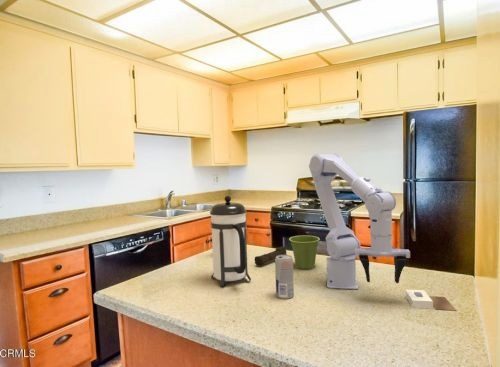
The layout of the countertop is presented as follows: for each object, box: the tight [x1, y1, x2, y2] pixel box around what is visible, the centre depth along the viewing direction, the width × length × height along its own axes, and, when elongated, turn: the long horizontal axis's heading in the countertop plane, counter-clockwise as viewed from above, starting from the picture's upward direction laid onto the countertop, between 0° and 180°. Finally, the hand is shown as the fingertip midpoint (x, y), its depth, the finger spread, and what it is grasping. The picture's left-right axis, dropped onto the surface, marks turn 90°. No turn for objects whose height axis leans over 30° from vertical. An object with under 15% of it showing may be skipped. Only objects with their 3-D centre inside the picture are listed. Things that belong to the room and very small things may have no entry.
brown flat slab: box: [428, 295, 457, 312], centre depth 90 cm, size 5×9×1 cm, turn 166°
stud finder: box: [404, 288, 434, 310], centre depth 91 cm, size 5×8×3 cm, turn 167°
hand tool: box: [254, 245, 288, 267], centre depth 136 cm, size 19×4×5 cm, turn 135°
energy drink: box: [274, 254, 295, 300], centre depth 99 cm, size 5×5×12 cm
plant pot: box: [288, 234, 321, 270], centre depth 127 cm, size 12×12×11 cm
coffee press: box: [209, 195, 252, 288], centre depth 113 cm, size 17×16×30 cm
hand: (382, 281), depth 93 cm, fingers open, 7 cm apart
